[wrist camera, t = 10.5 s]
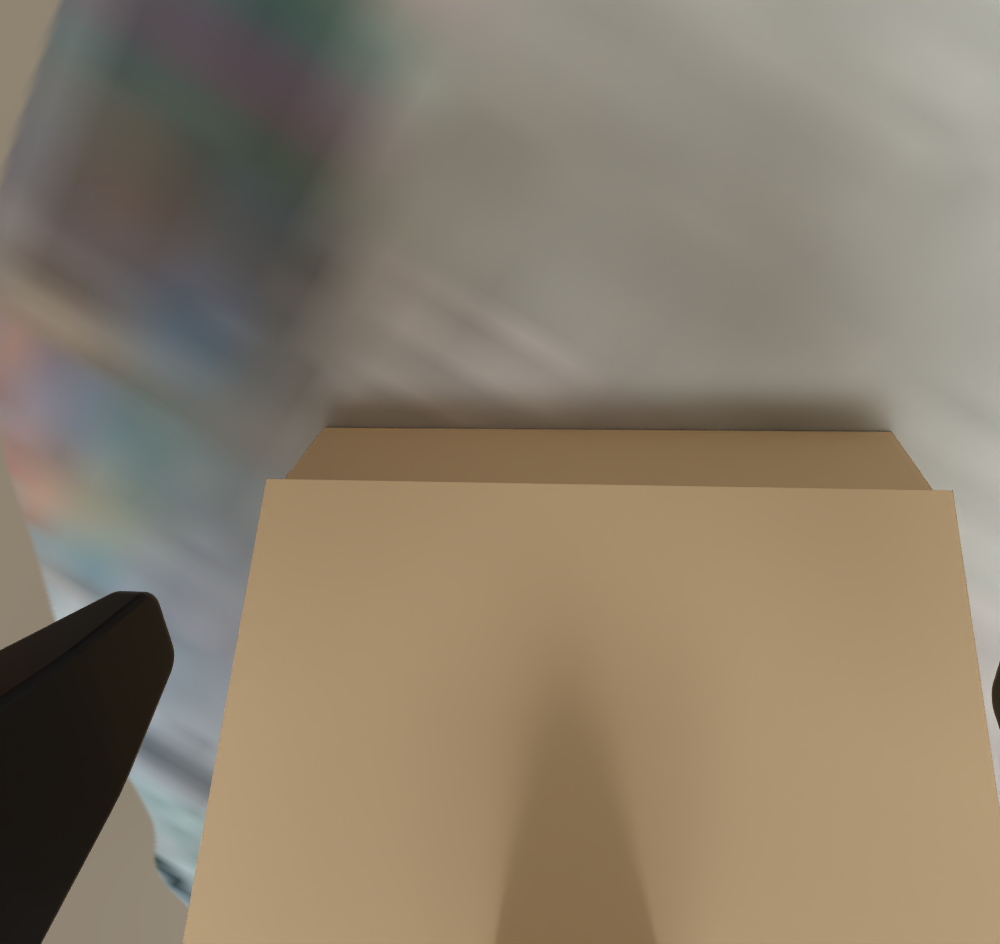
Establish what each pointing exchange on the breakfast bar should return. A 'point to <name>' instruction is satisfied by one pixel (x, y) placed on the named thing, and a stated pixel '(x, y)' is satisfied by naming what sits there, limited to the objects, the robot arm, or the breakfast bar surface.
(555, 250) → the breakfast bar surface
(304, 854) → the lid flap
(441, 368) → the breakfast bar surface
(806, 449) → the carton
